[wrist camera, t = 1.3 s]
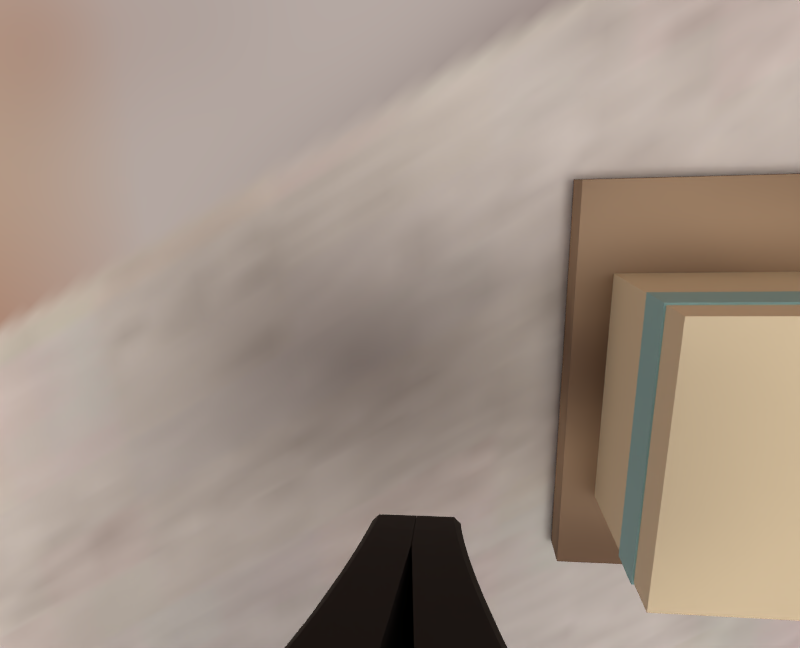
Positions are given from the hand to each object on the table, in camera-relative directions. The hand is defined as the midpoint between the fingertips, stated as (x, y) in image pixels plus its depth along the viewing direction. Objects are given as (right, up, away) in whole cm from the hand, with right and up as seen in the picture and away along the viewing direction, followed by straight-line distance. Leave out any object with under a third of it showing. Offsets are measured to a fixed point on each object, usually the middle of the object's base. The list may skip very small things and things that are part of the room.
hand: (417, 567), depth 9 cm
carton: (+9, +2, +6) cm, 11 cm away
